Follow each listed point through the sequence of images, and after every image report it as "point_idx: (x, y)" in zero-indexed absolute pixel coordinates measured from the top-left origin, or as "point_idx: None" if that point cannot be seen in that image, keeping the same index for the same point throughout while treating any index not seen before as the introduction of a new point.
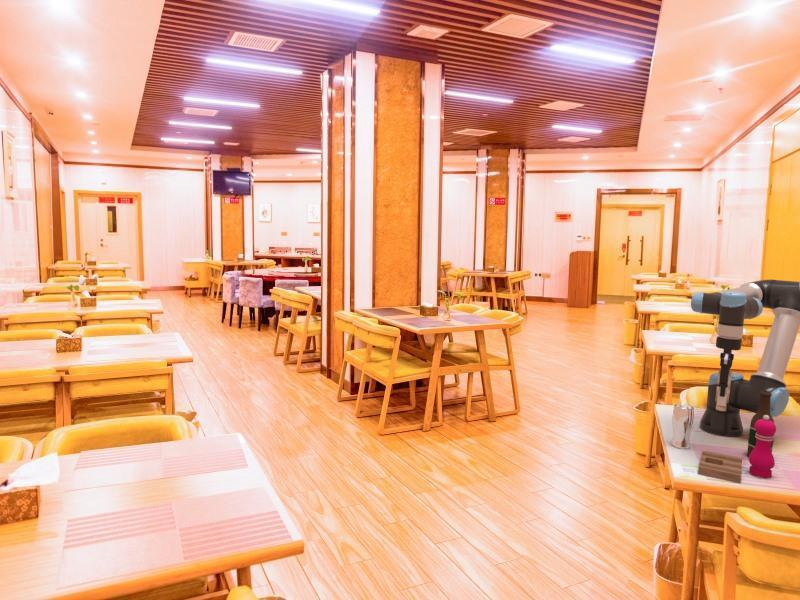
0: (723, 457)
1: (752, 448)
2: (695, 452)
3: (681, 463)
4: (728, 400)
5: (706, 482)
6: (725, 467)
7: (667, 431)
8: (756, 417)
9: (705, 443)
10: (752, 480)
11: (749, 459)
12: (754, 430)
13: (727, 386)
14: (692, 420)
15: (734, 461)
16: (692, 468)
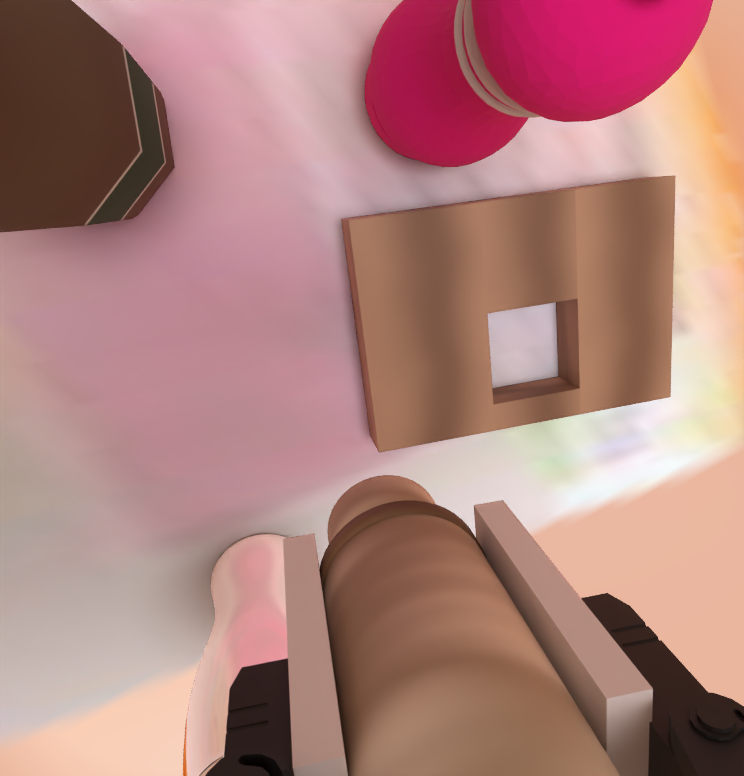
0: (426, 323)
1: (155, 180)
2: (315, 485)
3: (546, 486)
4: (423, 528)
5: (728, 323)
6: (596, 276)
7: (41, 719)
8: (50, 162)
9: (83, 490)
10: (563, 123)
11: (483, 158)
12: (126, 173)
13: (734, 711)
14: (285, 651)
15: (456, 251)
16: (582, 425)
